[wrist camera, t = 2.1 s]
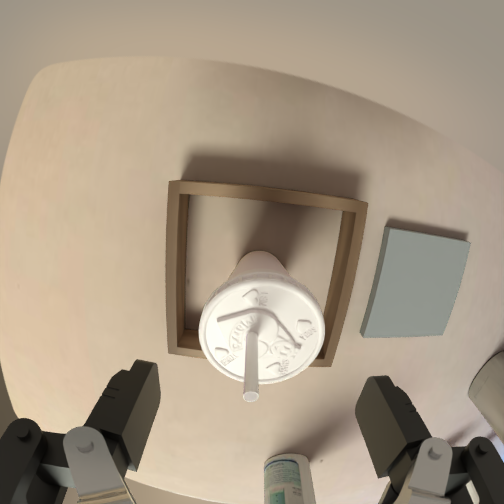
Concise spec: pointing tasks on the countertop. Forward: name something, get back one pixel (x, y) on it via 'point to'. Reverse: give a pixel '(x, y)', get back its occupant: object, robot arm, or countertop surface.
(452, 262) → the mat
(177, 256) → the frame
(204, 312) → the smoothie
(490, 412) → the robot arm
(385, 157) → the countertop surface
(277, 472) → the spray can
